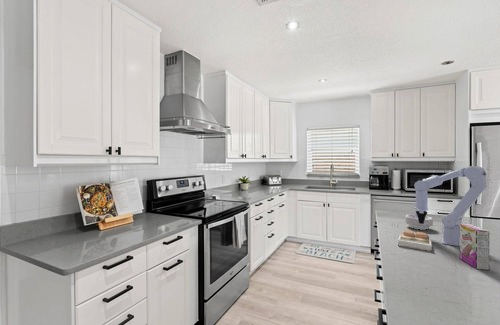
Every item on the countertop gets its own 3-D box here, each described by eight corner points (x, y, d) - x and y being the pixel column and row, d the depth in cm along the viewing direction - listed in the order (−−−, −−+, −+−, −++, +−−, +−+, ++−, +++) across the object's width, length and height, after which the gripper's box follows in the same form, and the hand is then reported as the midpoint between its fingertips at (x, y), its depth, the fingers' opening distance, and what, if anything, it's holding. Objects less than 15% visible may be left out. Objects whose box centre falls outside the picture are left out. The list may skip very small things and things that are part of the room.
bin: (430, 244, 130) (430, 239, 130) (431, 251, 120) (431, 245, 120) (399, 239, 138) (399, 234, 138) (398, 245, 128) (398, 240, 128)
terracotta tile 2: (414, 234, 141) (414, 231, 141) (413, 236, 137) (413, 233, 137) (403, 233, 144) (404, 229, 144) (403, 235, 140) (403, 231, 140)
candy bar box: (458, 258, 111) (458, 223, 111) (471, 259, 110) (471, 223, 110) (475, 269, 100) (476, 230, 100) (490, 270, 99) (490, 230, 99)
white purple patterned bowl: (409, 230, 158) (409, 218, 158) (402, 224, 172) (402, 213, 172) (436, 232, 153) (437, 219, 153) (427, 226, 168) (427, 215, 168)
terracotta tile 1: (426, 236, 138) (426, 233, 138) (426, 238, 134) (426, 235, 134) (416, 234, 141) (416, 231, 141) (415, 237, 137) (416, 233, 137)
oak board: (428, 239, 139) (428, 236, 139) (429, 244, 130) (429, 241, 130) (402, 235, 146) (402, 232, 146) (400, 240, 137) (400, 236, 137)
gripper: (413, 198, 152) (413, 220, 152) (413, 201, 141) (412, 224, 141) (427, 199, 148) (427, 221, 148) (428, 203, 136) (427, 226, 137)
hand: (421, 223), depth 144 cm, fingers closed
